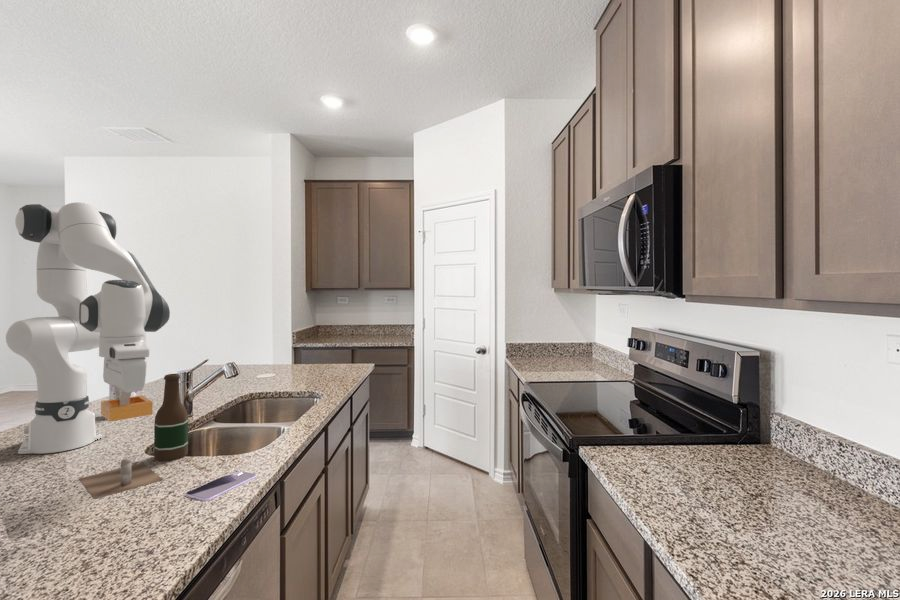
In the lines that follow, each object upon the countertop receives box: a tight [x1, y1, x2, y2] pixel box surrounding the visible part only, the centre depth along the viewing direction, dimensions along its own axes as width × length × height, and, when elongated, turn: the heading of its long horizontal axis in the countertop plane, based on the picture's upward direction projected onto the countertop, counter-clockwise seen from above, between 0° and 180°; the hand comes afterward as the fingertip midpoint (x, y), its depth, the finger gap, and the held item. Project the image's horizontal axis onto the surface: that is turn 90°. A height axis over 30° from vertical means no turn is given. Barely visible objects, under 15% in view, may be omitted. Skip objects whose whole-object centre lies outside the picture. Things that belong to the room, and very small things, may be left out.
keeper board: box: [78, 457, 164, 500], centre depth 102 cm, size 16×13×8 cm
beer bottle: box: [153, 373, 189, 462], centre depth 117 cm, size 8×8×24 cm
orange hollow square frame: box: [100, 395, 154, 423], centre depth 100 cm, size 8×8×3 cm
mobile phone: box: [184, 470, 258, 502], centre depth 103 cm, size 8×1×15 cm
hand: (122, 405), depth 102 cm, fingers closed on orange hollow square frame
